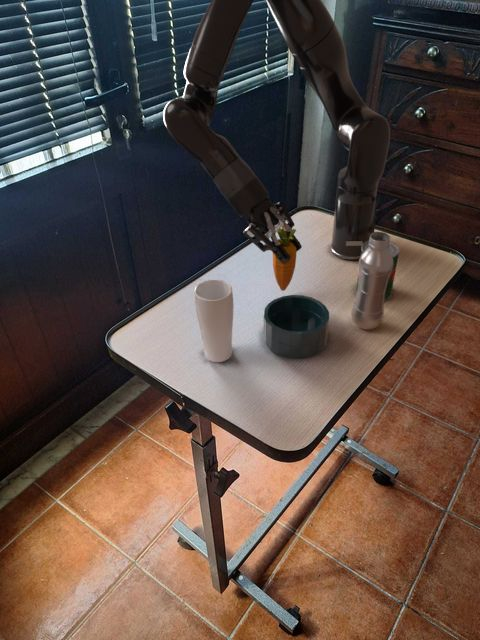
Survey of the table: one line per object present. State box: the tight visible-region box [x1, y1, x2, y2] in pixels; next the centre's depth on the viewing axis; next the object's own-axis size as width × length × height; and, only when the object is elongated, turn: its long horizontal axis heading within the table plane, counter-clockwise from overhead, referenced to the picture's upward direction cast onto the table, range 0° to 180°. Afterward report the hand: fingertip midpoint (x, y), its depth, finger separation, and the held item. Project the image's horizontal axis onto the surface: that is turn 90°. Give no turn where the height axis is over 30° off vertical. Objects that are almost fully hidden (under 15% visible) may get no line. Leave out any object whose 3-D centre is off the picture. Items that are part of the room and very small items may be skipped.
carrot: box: [272, 228, 298, 292], centre depth 108 cm, size 5×5×15 cm
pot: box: [263, 294, 330, 359], centre depth 101 cm, size 13×13×6 cm
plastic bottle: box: [351, 231, 393, 330], centre depth 100 cm, size 6×7×20 cm
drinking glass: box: [193, 279, 235, 363], centre depth 95 cm, size 7×7×15 cm
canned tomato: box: [355, 241, 400, 302], centre depth 112 cm, size 8×8×11 cm
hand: (292, 255), depth 106 cm, fingers closed on carrot, 4 cm apart
